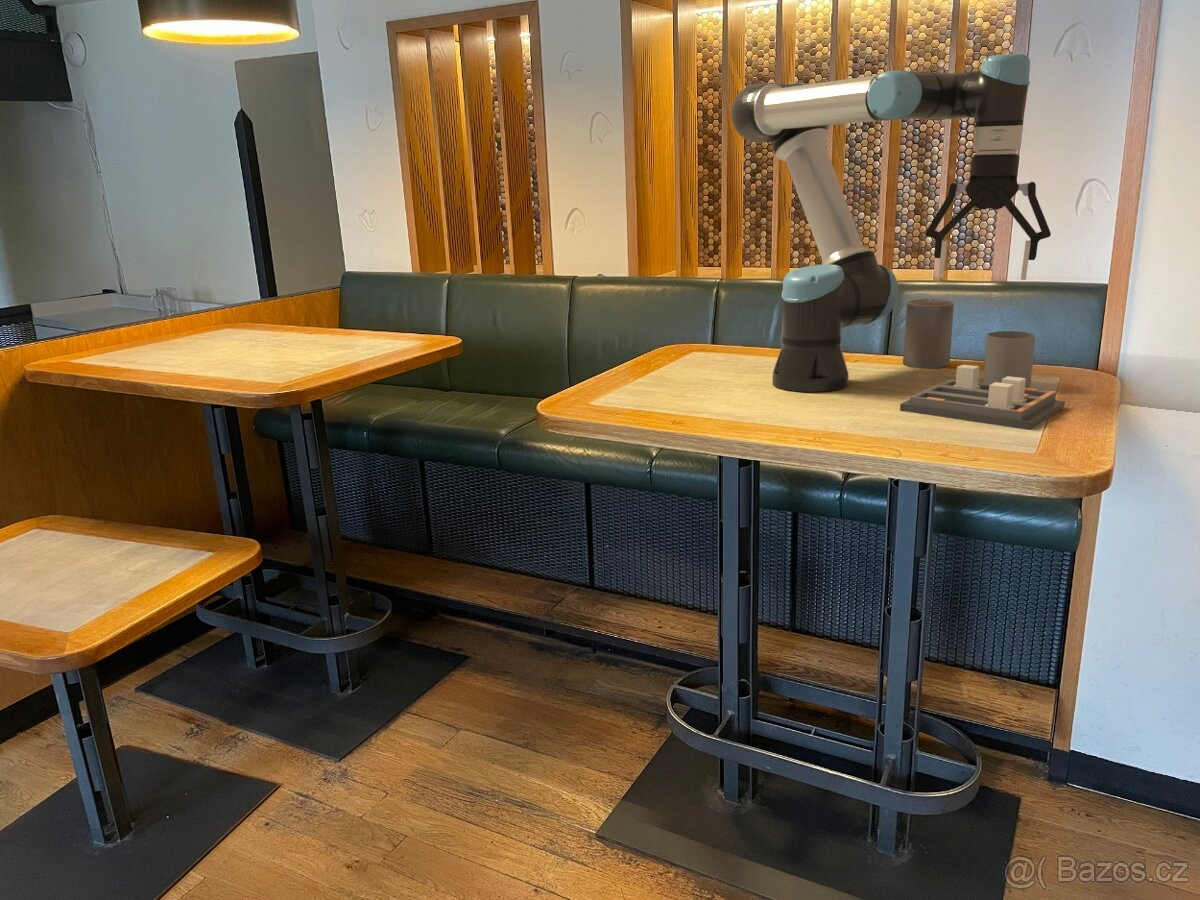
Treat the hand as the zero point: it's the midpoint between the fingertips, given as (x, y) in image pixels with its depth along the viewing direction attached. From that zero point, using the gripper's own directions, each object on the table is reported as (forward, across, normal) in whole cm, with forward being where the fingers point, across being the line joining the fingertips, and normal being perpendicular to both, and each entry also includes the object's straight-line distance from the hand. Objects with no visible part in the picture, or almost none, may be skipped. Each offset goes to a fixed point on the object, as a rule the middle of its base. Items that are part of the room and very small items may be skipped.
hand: (981, 278), depth 155 cm
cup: (+22, +6, +10) cm, 25 cm away
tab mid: (+20, +7, -12) cm, 24 cm away
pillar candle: (+23, -10, +27) cm, 37 cm away
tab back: (+20, 0, -3) cm, 21 cm away
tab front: (+20, +5, -17) cm, 27 cm away
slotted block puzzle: (+22, +3, -10) cm, 24 cm away
